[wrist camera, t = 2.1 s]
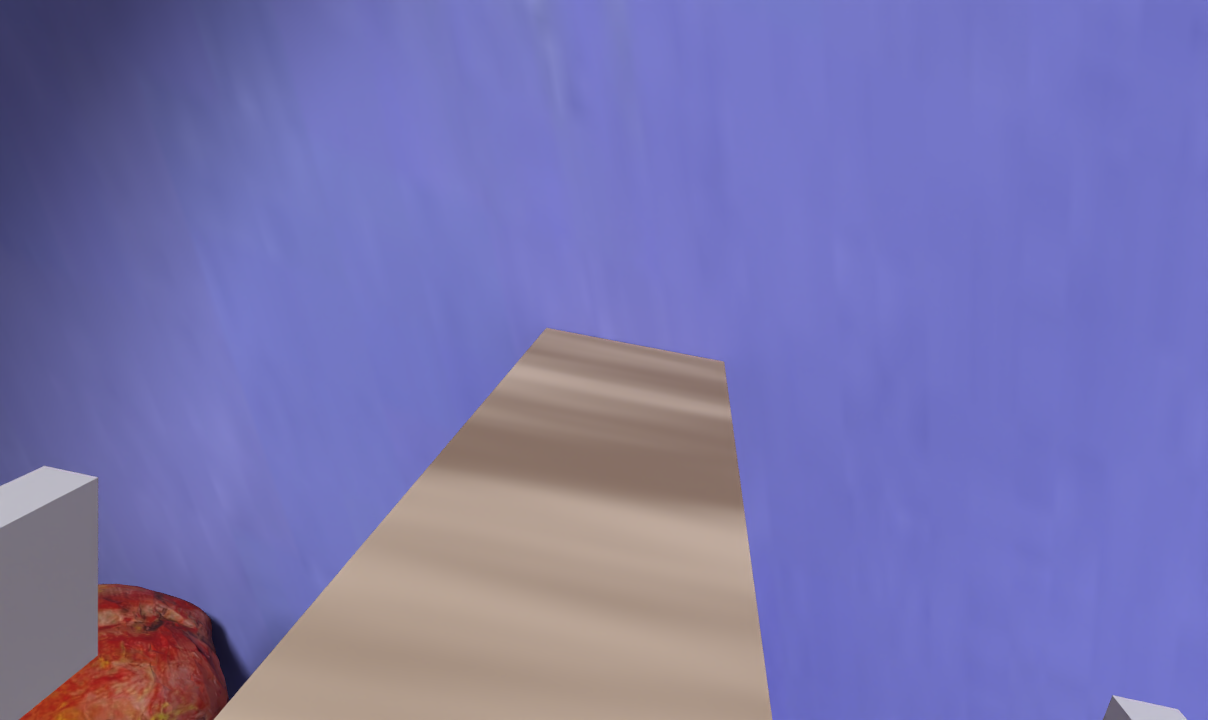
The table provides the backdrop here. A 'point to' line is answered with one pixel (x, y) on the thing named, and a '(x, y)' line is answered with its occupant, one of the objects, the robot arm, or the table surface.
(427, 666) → the block
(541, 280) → the table surface
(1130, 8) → the table surface
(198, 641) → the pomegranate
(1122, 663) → the table surface
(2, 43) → the table surface
